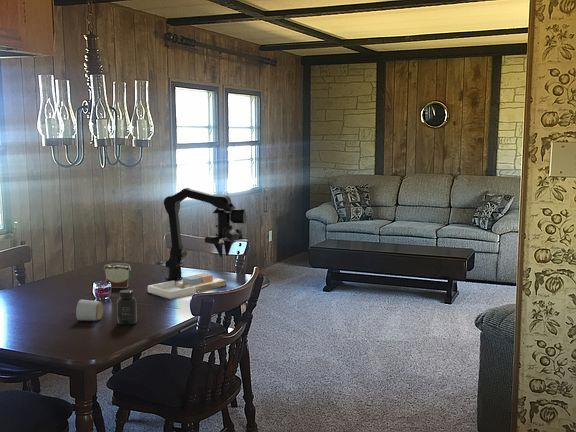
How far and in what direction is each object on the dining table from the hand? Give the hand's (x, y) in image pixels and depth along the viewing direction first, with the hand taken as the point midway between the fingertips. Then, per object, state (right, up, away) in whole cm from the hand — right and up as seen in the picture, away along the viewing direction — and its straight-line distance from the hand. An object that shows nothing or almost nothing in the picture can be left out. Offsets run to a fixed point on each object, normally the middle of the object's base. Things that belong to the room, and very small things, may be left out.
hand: (224, 256), depth 300 cm
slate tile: (-13, -11, -12) cm, 21 cm away
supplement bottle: (-29, -21, -64) cm, 73 cm away
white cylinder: (-44, -20, -59) cm, 76 cm away
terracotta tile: (-9, -11, -8) cm, 16 cm away
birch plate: (-10, -13, -8) cm, 18 cm away
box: (-21, -15, -20) cm, 32 cm away
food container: (-46, -13, -8) cm, 49 cm away
